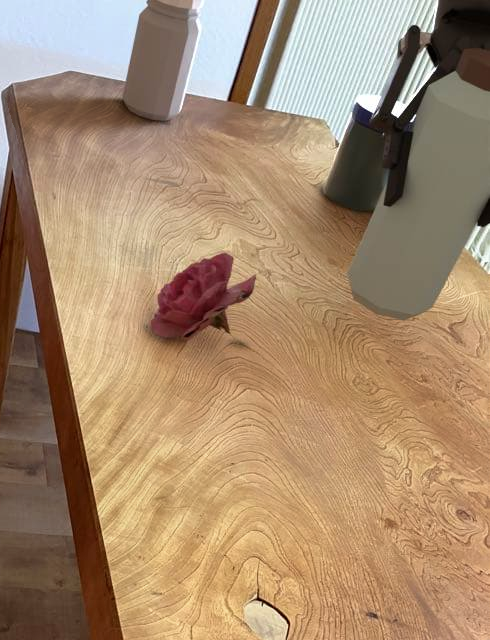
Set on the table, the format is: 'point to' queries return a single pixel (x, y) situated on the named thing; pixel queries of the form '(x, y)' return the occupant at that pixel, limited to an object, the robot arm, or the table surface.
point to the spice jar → (357, 168)
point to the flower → (199, 299)
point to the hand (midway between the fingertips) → (440, 211)
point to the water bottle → (430, 197)
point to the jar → (162, 58)
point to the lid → (372, 109)
